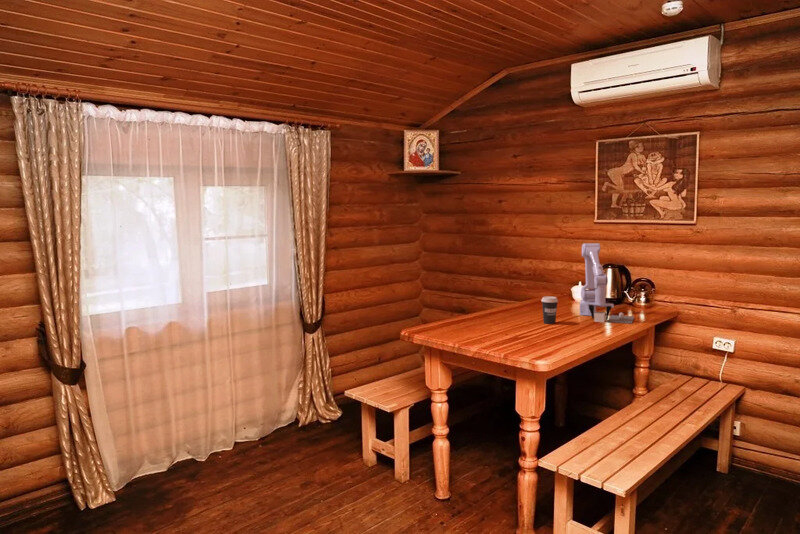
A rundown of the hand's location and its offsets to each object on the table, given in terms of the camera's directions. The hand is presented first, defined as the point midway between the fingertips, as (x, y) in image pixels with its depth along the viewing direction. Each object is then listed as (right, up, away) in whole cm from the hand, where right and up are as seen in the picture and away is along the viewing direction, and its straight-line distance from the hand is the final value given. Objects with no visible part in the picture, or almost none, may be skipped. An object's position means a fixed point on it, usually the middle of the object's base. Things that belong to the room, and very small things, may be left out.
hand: (599, 318), depth 334 cm
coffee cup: (-30, -3, -2) cm, 30 cm away
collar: (0, -1, 0) cm, 1 cm away
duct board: (+13, -1, +3) cm, 14 cm away
